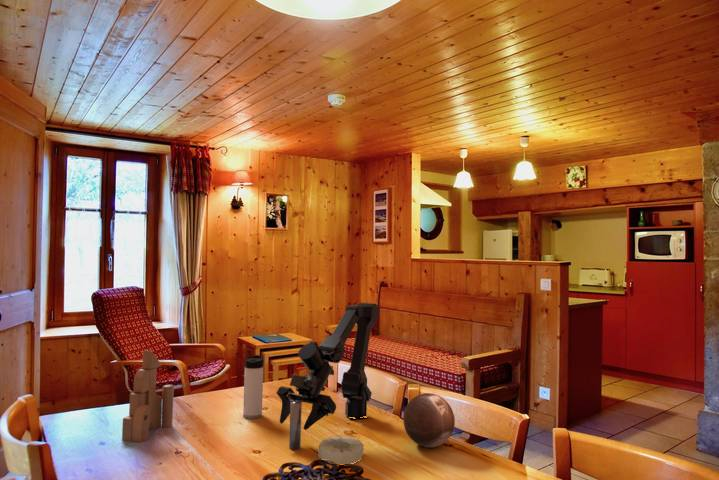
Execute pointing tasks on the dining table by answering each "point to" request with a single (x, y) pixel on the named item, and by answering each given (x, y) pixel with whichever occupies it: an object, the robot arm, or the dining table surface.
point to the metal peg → (295, 425)
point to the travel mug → (253, 387)
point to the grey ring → (341, 450)
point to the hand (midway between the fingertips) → (292, 426)
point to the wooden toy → (147, 403)
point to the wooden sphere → (428, 420)
